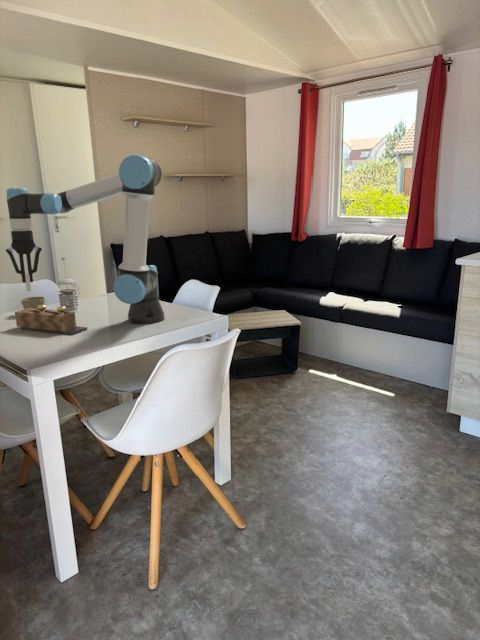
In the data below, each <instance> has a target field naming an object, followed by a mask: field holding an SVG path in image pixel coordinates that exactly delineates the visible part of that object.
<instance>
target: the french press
mask: <svg viewBox="0 0 480 640" xmlns="http://www.w3.org/2000/svg"><path fill="white" fill-rule="evenodd" d="M66 258H67V257H63V256H62V257H61V261H66V260H67V259H66ZM63 266H64V267H63V268H64V269H66V265H65V263H63ZM64 274H65V275H64V276H65V277H64V278H62V279H60V280H58V281H57V282H56V284H57V285H66V286H68V285H70V286H71V287H73V288H74V289H73V288H66V289H61V290H59V291H58V293H59V294H58V300H59V305H60V306H65V308H66V311H69V312H75V314H76V313H79V312H80V311H82V310H81V308H79V303H78V302H79V301H78V298H79V297H80V293H77V288H78V290H80V286H79V285H78V284H77V283H76V282H77V281H76V280H75V279H74V278H67V273H66V271H64ZM76 286H77V287H76ZM60 306H59V307H60Z"/></svg>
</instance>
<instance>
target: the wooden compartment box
mask: <svg viewBox="0 0 480 640" xmlns="http://www.w3.org/2000/svg"><path fill="white" fill-rule="evenodd" d="M75 314H76V313H75V312H69V311H64V315H60V312H58V311H57V310H54V309H45V310H44V313H42V314H41V312H40V310H38V309H33V308H27V309H24V308H23V309H21V310H17V311H14V317H15V323H16V327H20V328H21V327H27V328H37V329H46V330H56V331H66V330H69V329H71V328H74V327H76V326H77V322H76V315H75Z"/></svg>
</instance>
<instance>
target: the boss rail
mask: <svg viewBox="0 0 480 640" xmlns="http://www.w3.org/2000/svg"><path fill="white" fill-rule="evenodd" d="M37 307H38V310H40V312H41V314H42V313H44V310H47V305H46V304H44V305H38V306H37ZM56 309H57V311H58V312H60V315H64V311H66V308H65V306H57V307H56ZM20 328H21V330H22V331H32V332H38V333H39V332H41V333H49V334H58V335H60V334H61V335H66V336H67V335H69V336H75V335H78V334H80V333H82V331H83V332H85V331H87V330H88V327H85V326H80V325H78V326H77V325H76V327H74V328H71V329H69V330H66V331H56V330H46V329H37V328H27V327H20Z"/></svg>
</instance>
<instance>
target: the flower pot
mask: <svg viewBox="0 0 480 640" xmlns="http://www.w3.org/2000/svg"><path fill="white" fill-rule="evenodd" d="M45 301H46V297H44V296H29V297H24V298H21V299H20V302H21V305H22V307H23V309H27V308H33V309H38V307H37V306H38V305H45Z"/></svg>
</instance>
